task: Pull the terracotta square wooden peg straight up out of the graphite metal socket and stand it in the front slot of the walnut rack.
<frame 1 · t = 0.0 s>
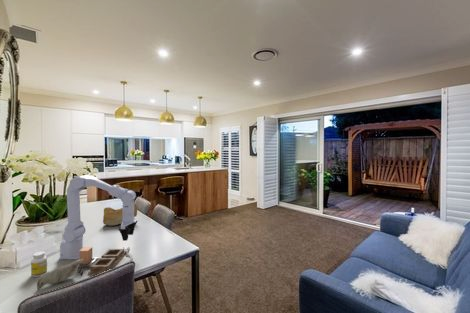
hand: (128, 237, 121), 10 cm above the table, fingers open, 7 cm apart
socket: (85, 264, 111), on the table
rough brown rock: (121, 222, 172), on the table
peg: (85, 256, 110), in the socket
supplement bottle: (39, 274, 101), on the table
rack: (108, 263, 112), on the table
pliers: (124, 255, 121), on the table, touching rack
decorative bird: (61, 282, 96), on the table
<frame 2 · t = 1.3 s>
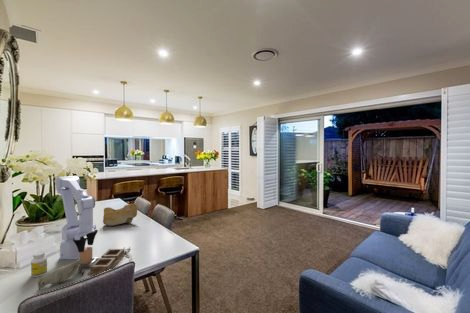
hand: (86, 248, 110), 8 cm above the table, fingers open, 7 cm apart
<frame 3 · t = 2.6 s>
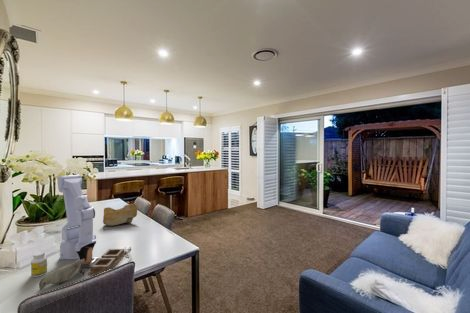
hand: (85, 258, 110), 3 cm above the table, fingers closed on peg, 4 cm apart
peg: (85, 256, 110), in the socket, touching gripper
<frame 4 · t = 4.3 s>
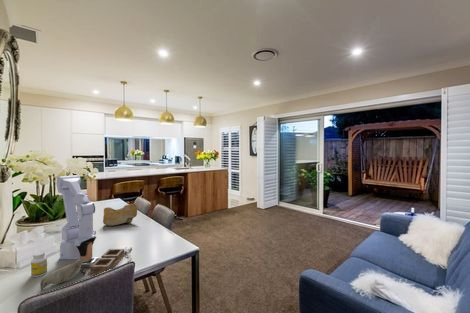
hand: (85, 253, 110), 5 cm above the table, fingers closed on peg, 4 cm apart
peg: (85, 251, 110), point 6 cm above the table, touching gripper
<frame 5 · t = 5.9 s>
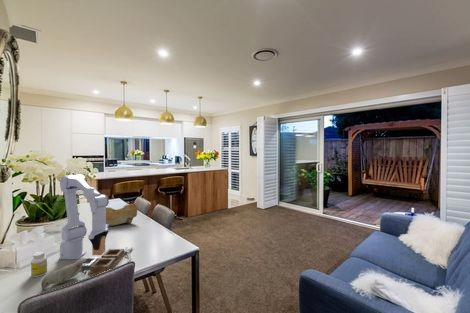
hand: (98, 247, 108), 10 cm above the table, fingers closed on peg, 4 cm apart
peg: (98, 245, 108), point 11 cm above the table, touching gripper
when the fingers open (5 cm above the table, at t = 7.8 s): peg stays where it is, resting on rack.
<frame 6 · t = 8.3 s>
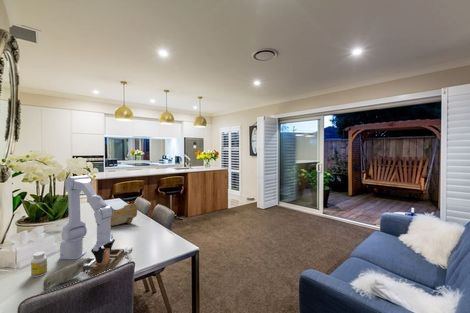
hand: (103, 258, 107), 5 cm above the table, fingers open, 7 cm apart
peg: (103, 258, 107), in the rack, point 5 cm above the table
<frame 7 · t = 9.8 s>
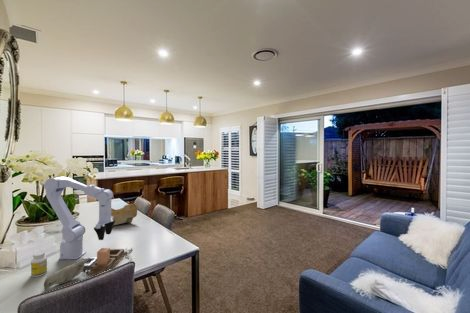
hand: (104, 236, 120), 10 cm above the table, fingers open, 7 cm apart
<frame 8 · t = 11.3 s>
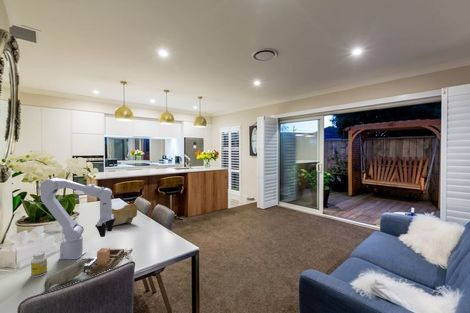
hand: (106, 233, 123), 10 cm above the table, fingers open, 7 cm apart
decorative bird: (67, 282, 97), on the table, touching rack
at the end: peg 0.0 cm from the target spot on the rack, point 5.2 cm above the rack's base; peg tilted 0°; the gripper is holding nothing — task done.
